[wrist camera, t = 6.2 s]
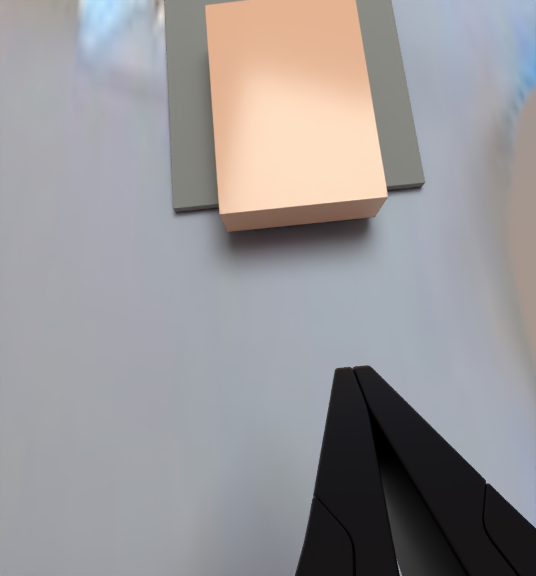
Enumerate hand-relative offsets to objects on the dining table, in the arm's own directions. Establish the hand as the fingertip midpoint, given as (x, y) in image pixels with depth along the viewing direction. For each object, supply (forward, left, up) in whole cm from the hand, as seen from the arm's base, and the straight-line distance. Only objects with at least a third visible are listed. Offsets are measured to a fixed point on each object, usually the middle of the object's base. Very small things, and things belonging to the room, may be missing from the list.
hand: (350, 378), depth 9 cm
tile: (+7, -4, -8) cm, 11 cm away
